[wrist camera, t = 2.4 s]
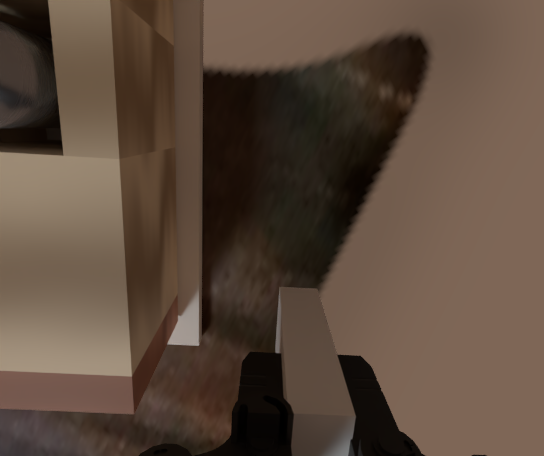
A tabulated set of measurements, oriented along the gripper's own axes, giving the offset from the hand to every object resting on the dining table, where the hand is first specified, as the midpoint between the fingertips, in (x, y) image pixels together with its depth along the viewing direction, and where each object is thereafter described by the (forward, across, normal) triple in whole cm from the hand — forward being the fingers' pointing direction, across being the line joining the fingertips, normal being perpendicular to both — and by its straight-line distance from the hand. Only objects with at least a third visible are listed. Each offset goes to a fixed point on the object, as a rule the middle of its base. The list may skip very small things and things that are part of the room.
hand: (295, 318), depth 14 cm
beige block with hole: (+3, -9, +6) cm, 11 cm away
